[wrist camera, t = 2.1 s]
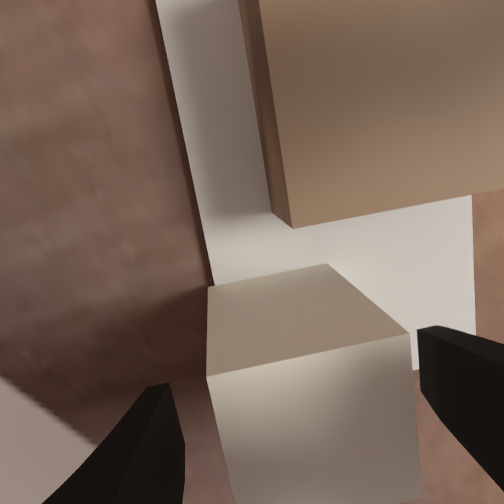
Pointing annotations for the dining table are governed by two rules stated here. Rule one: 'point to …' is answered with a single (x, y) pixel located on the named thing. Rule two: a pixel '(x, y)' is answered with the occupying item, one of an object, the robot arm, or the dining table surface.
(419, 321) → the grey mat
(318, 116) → the brown block
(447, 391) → the robot arm
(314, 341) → the cream block
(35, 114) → the dining table surface
